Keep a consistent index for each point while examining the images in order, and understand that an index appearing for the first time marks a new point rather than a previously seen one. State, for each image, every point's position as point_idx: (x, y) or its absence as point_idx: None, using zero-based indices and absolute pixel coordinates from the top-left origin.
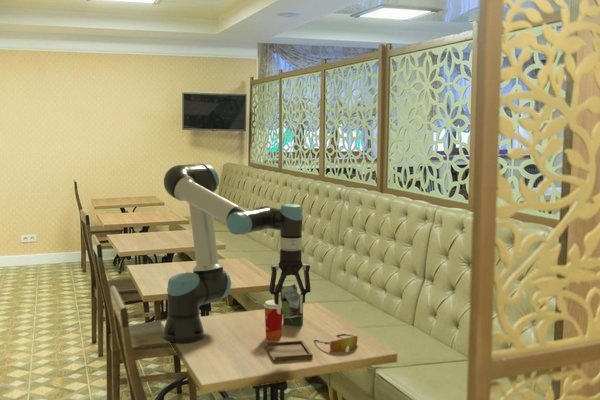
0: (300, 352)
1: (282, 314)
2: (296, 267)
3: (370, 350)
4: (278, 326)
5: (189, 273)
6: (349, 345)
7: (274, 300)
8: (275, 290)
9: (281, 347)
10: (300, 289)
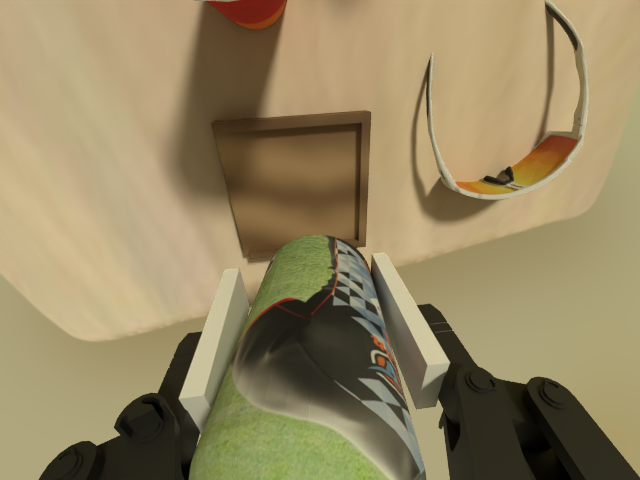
0: (336, 210)
1: None
2: None
3: (553, 188)
4: (268, 14)
5: None
6: (509, 183)
7: (175, 364)
8: (135, 474)
9: (277, 159)
10: (464, 421)
